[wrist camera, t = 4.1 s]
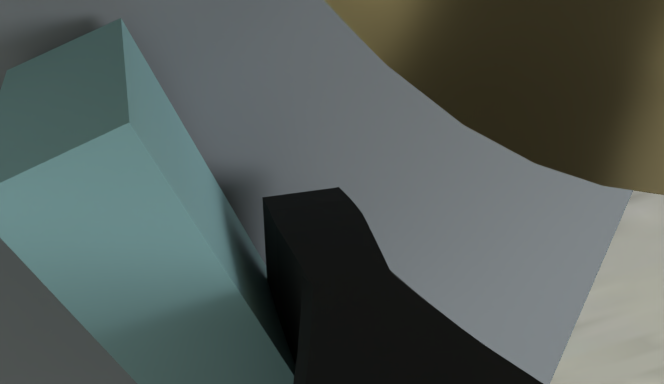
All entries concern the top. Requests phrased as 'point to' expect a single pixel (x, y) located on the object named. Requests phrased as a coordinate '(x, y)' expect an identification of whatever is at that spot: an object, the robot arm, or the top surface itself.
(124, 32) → the lock lever
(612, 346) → the top surface
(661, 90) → the cap
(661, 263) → the top surface
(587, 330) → the top surface
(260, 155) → the post board
